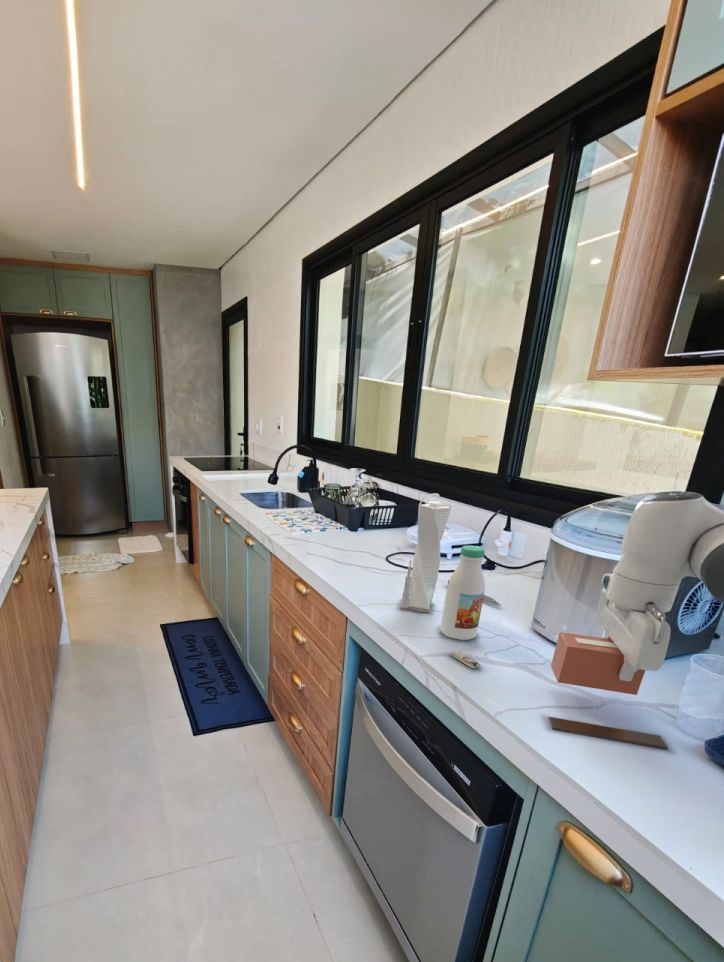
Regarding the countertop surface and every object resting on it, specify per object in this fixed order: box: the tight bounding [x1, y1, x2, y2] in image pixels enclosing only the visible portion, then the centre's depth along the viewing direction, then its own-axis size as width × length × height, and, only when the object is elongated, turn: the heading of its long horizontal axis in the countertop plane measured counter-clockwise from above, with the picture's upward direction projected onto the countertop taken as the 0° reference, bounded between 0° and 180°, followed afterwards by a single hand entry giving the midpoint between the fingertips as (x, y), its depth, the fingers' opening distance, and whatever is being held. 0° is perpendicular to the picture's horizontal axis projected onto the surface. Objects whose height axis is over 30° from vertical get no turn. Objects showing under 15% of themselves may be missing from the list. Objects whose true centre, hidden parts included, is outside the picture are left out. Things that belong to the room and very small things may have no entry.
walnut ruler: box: [548, 716, 669, 750], centre depth 80 cm, size 16×3×1 cm, turn 74°
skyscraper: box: [400, 493, 452, 614], centre depth 123 cm, size 8×8×28 cm
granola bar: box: [449, 650, 482, 669], centre depth 101 cm, size 7×2×1 cm, turn 25°
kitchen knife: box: [447, 579, 502, 607], centre depth 135 cm, size 18×1×2 cm, turn 27°
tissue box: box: [550, 631, 646, 696], centre depth 87 cm, size 6×12×7 cm, turn 74°
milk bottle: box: [440, 545, 486, 641], centre depth 110 cm, size 8×8×20 cm
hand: (616, 668), depth 86 cm, fingers closed on tissue box, 6 cm apart
